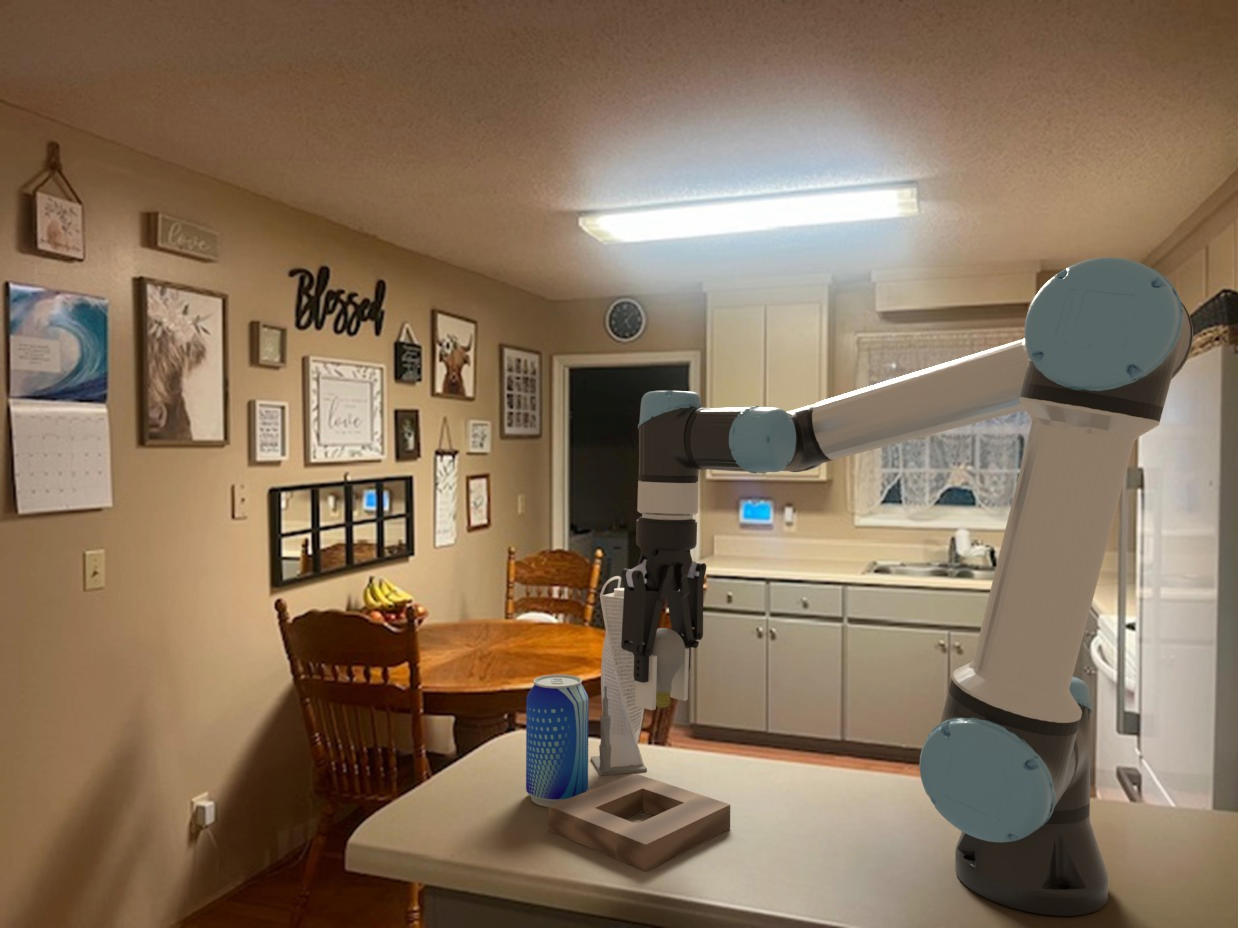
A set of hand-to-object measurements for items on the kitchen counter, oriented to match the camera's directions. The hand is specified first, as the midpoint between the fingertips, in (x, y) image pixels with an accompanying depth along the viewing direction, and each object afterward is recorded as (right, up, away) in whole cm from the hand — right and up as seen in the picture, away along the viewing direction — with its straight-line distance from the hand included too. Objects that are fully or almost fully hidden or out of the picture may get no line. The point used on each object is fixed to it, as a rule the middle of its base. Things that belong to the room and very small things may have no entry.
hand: (661, 702), depth 110 cm
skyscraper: (-5, -16, +24) cm, 29 cm away
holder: (-3, -16, 0) cm, 16 cm away
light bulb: (0, -1, 0) cm, 1 cm away
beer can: (-14, -16, +10) cm, 23 cm away
